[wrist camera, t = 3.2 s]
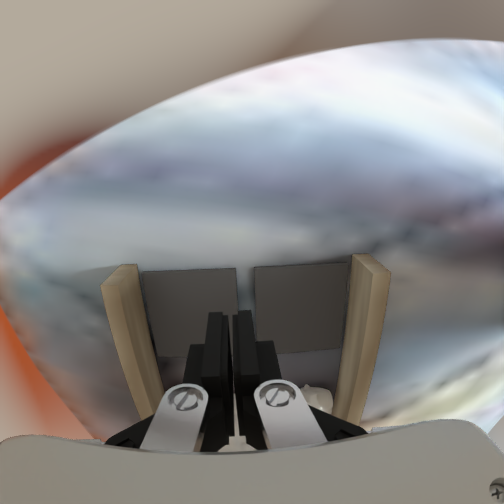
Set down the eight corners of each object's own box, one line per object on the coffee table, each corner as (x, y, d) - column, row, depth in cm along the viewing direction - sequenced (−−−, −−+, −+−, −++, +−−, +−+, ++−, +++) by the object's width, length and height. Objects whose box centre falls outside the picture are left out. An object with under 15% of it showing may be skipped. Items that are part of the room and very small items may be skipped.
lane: (368, 253, 17) (400, 279, 13) (318, 499, 25) (324, 526, 21) (121, 264, 16) (91, 294, 12) (195, 505, 25) (193, 533, 21)
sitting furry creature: (277, 457, 22) (292, 576, 10) (179, 436, 21) (160, 566, 9) (334, 385, 19) (388, 533, 8) (217, 354, 18) (203, 537, 7)
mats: (346, 262, 17) (348, 264, 16) (338, 345, 18) (340, 347, 18) (143, 271, 16) (141, 273, 16) (159, 353, 18) (158, 356, 18)
